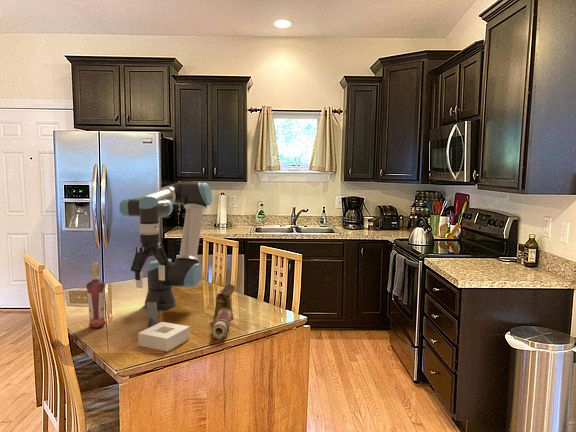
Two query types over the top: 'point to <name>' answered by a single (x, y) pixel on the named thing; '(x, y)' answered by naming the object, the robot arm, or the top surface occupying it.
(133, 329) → the top surface
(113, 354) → the top surface
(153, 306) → the peg
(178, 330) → the socket
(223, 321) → the scroll
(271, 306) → the top surface
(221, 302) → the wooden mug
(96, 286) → the liquor
